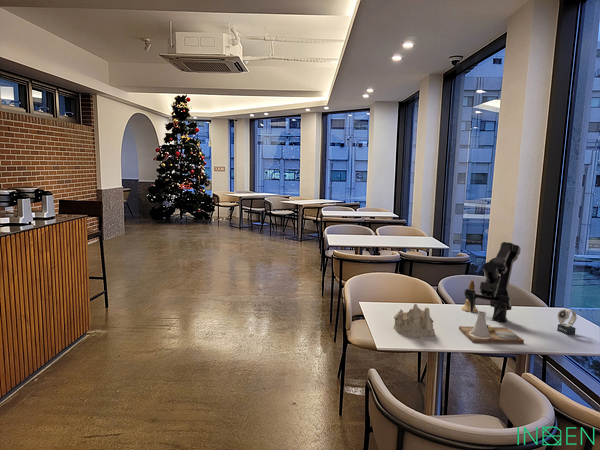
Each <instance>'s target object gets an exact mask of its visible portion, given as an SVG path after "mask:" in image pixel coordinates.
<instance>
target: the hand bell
mask: <svg viewBox="0 0 600 450" xmlns="http://www.w3.org/2000/svg"><path fill="white" fill-rule="evenodd" d="M475 286H476V285H475V280H470V282H469V285H468V289H472V290H475ZM461 310H462V311H464V312H466V313H467V312H468V313H471V306H470V302H469V301H468V300H467V299H466V298H465V303H464V304H463V306H461ZM478 312H479V310H478V308H477V307H476V305H475V306H474V309H473V312H472V313H478Z"/></svg>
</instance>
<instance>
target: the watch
mask: <svg viewBox="0 0 600 450" xmlns="http://www.w3.org/2000/svg"><path fill="white" fill-rule="evenodd" d="M570 313H571V316H570ZM577 318H578V316H577V313H576V311H574V310H573V309H570V308H563V309H561V310H560V311H558V313H557V320H558V324H557V330H556V331H558V332H559V333H561V332H562V334H563V333H564V335H565V336H573V335H574V336H575V335H576V330H577V328H576V327H574V324H575V323H576V321H577ZM568 319H569V320H568ZM567 320H568V323H565V322H566V321H567Z"/></svg>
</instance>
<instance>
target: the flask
mask: <svg viewBox="0 0 600 450" xmlns="http://www.w3.org/2000/svg"><path fill="white" fill-rule="evenodd" d="M486 315H487V312H485V311H482V310H481V311H479V310H478V312H477V319H476V321H475V323H474V326H472V327H473V329H472V331H471V333H472V334H473V335H476V336H479V337H488V336H490V335H489V331H488V328H487V325H488V324H487V321H486Z"/></svg>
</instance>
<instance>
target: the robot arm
mask: <svg viewBox="0 0 600 450" xmlns="http://www.w3.org/2000/svg"><path fill="white" fill-rule="evenodd" d="M521 251H522V250H521V247H520V246H519V245H518V244H514V243H513V242H507V241H503V242H501V243H500V248H499V251H498V253H497V254H496V256H495V257H493V258H491V259H490V260H489V261H488V262H485V263H484V264H483V266H482V269H483V273H484V276H485V280H484V281H480V285H479V289H480V290H479V291H480V293H477V292H476V289H474V290H472V289H469V288H466V289H464V296H465V300H466V299H467V300H468V301H469V302H470V306H471V312H470V313H474V312H473V309H474V306H476V299H481V300H486V301H489V303H490V308H493V315H492V317H491V320H492V321H497V322H502V323H507V321H508V317H507V311H510V310H511V311H512V300H511V296H510V293H509V290H508V289H509V285H510V280H511V276H512V275H511V274H512V270H513V264H514V263H515V262H516V261H517V260H518V258H519V255H520V254H521Z"/></svg>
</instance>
